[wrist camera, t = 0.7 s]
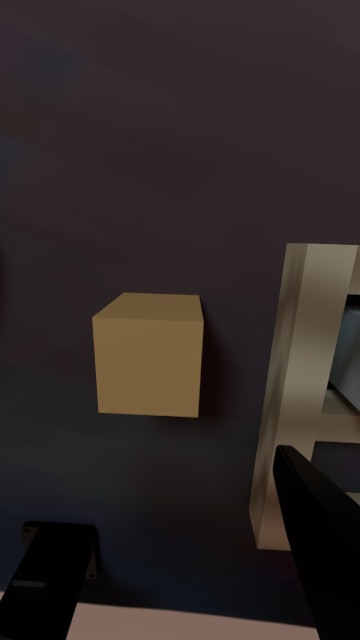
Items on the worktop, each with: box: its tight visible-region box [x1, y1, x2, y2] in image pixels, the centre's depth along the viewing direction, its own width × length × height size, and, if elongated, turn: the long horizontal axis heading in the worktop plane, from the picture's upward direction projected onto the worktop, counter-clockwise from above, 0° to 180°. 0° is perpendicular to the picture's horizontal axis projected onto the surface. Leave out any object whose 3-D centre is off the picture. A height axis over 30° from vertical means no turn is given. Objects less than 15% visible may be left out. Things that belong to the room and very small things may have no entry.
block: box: [92, 293, 204, 417], centre depth 15 cm, size 5×5×6 cm
